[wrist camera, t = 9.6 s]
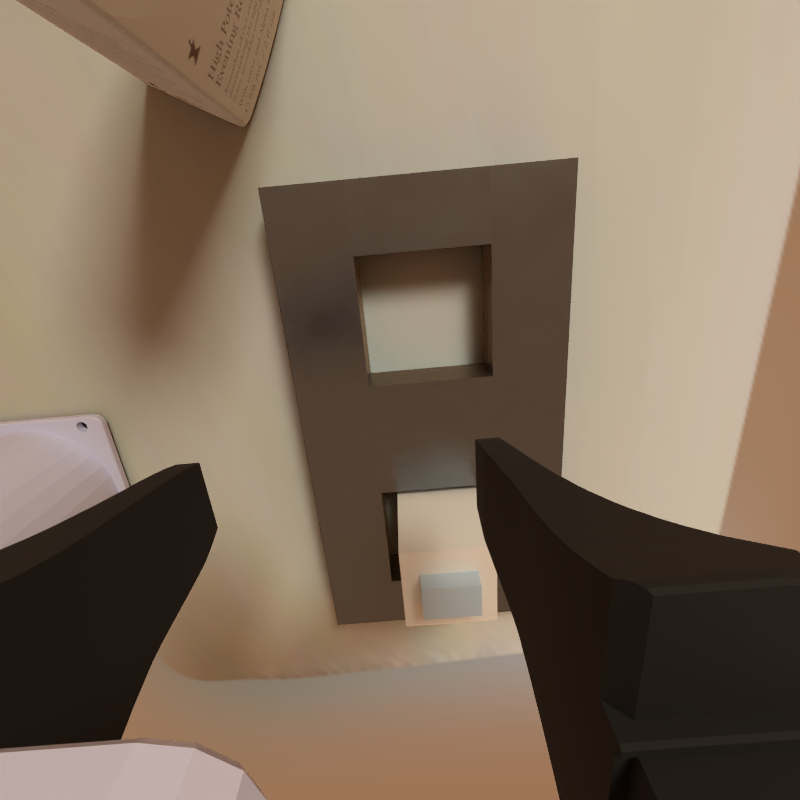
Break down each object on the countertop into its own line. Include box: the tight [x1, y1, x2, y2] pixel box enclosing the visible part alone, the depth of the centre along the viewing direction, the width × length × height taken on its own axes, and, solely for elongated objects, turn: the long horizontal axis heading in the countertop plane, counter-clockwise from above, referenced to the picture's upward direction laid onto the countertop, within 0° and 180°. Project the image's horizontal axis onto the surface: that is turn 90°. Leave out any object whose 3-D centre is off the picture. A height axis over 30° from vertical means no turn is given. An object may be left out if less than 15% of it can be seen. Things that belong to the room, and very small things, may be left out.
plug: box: [397, 485, 497, 627], centre depth 21 cm, size 4×4×7 cm
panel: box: [258, 158, 578, 625], centre depth 21 cm, size 12×22×2 cm, turn 5°
